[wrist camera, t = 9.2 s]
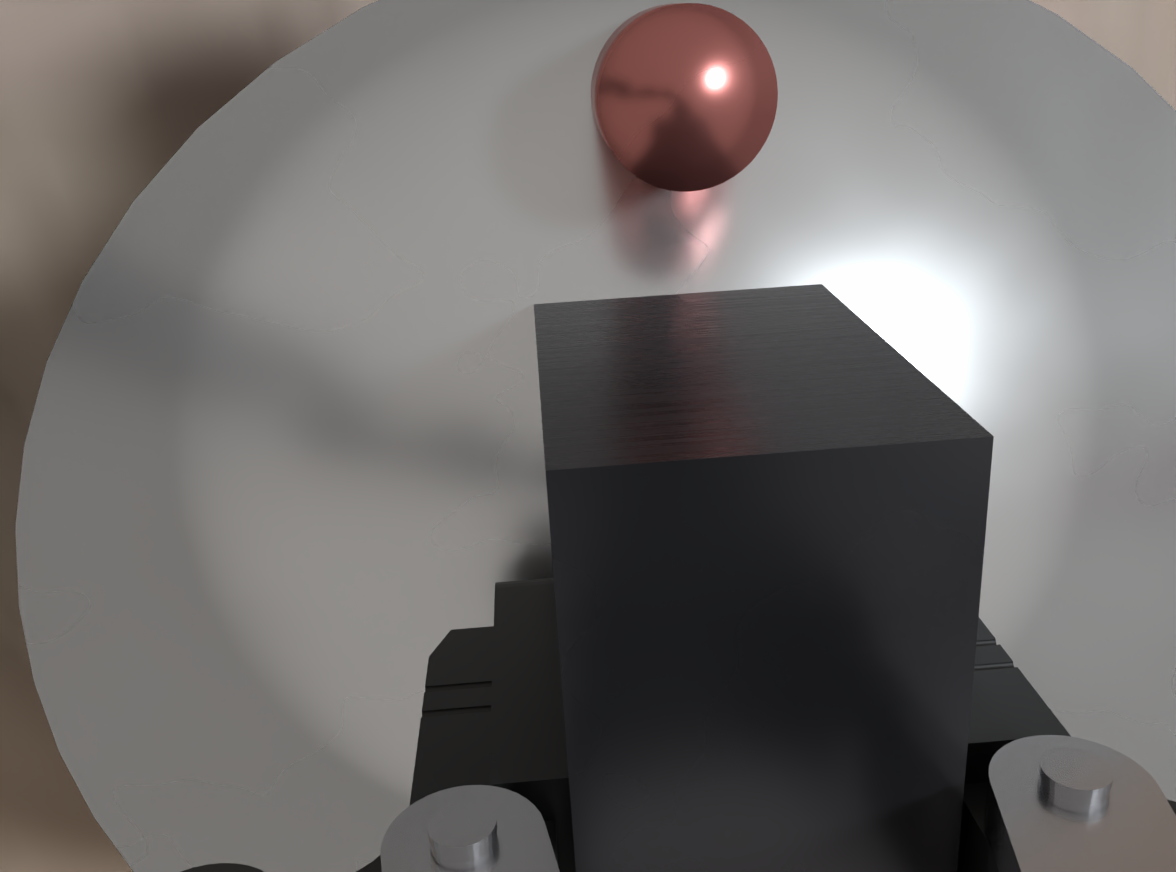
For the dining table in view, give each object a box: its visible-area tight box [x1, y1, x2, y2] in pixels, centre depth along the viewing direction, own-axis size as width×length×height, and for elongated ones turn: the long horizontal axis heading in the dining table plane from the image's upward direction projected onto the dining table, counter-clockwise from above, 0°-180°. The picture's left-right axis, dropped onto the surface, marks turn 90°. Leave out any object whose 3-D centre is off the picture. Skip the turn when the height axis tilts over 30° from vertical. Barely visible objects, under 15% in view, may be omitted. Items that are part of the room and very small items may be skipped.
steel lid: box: [15, 0, 1176, 872], centre depth 11 cm, size 15×15×6 cm
